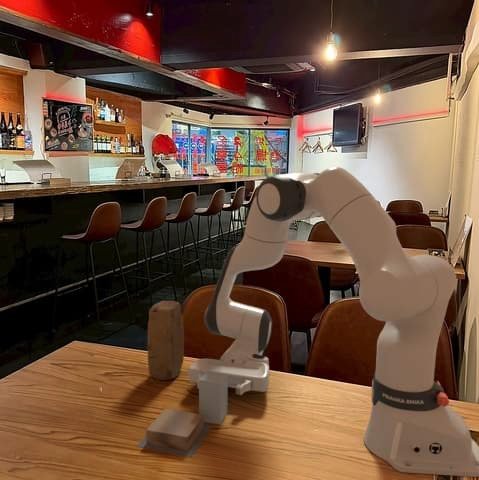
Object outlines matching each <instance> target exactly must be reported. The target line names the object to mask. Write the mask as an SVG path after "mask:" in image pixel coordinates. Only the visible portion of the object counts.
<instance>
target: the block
mask: <svg viewBox="0 0 479 480" xmlns="http://www.w3.org/2000/svg"><path fill="white" fill-rule="evenodd" d="M181 309H182V308H181V304H180V302H178V301H175V300H161V301H158V302H157V303H154V304H153V305H152V307H151V308H150V309H149V310H148V316H149V318H148V322H147V363H148V364H147V365H148V374H149V376H150V377H151V378H153V379H156V380H159V381H168V380H171V379H175V378H176V377H178V376H179V375H180V372H181V370H182V366H183V364H184V357H185V356H184V355H185V354H184V353H185V350H184V349H185V335H184V334H185V331H184V330H185V329H184V320H183V315H182V311H181Z"/></svg>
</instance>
